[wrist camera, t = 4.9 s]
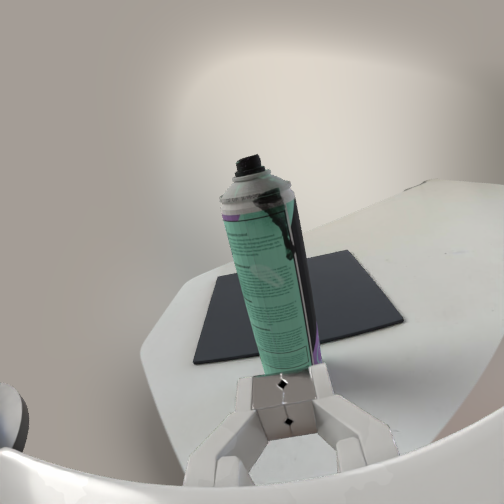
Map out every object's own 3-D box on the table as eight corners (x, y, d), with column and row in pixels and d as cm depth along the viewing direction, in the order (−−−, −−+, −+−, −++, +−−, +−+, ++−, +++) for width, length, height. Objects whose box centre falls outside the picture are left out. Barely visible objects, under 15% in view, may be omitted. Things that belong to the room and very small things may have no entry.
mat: (193, 364, 32) (192, 361, 31) (218, 278, 54) (217, 276, 54) (403, 321, 29) (403, 318, 29) (347, 251, 52) (347, 249, 52)
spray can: (333, 365, 26) (300, 145, 20) (299, 402, 23) (245, 157, 17) (290, 350, 30) (248, 156, 24) (255, 380, 27) (195, 169, 21)
